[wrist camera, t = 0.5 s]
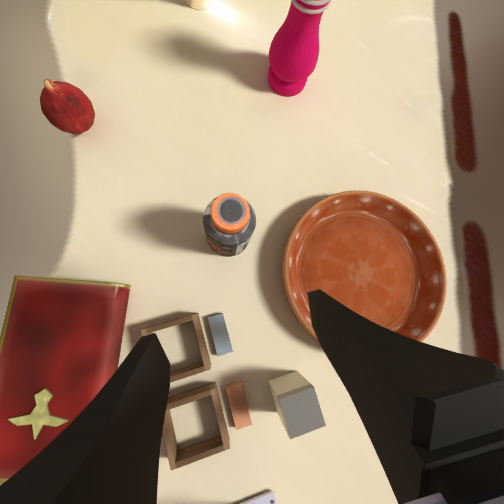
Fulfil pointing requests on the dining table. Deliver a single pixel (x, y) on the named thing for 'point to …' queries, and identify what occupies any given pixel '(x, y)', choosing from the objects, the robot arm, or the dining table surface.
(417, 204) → the dining table surface
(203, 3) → the cup with straw
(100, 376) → the hardcover book
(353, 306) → the saucer
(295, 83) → the pepper mill
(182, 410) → the dining table surface
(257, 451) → the dining table surface
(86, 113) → the onion
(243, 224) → the pill bottle
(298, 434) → the plug
